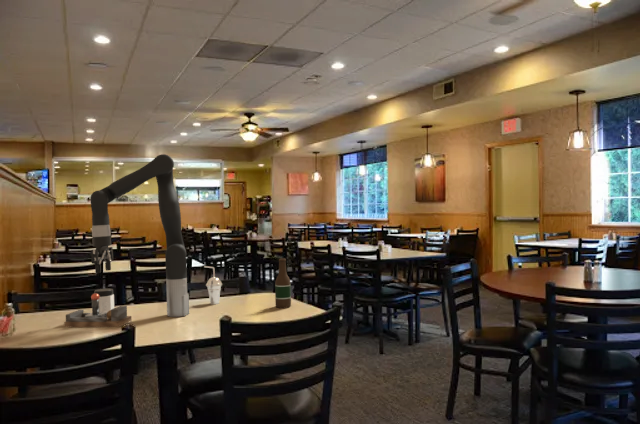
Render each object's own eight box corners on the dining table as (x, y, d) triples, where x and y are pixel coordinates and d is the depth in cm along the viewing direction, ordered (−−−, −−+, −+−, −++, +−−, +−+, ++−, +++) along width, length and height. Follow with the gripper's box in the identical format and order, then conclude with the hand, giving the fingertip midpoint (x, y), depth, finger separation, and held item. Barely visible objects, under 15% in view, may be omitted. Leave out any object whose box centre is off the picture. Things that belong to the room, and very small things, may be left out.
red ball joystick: (108, 316, 217) (108, 292, 217) (100, 320, 210) (99, 294, 210) (93, 316, 217) (93, 292, 217) (84, 320, 211) (84, 294, 210)
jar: (95, 317, 225) (94, 292, 225) (92, 314, 232) (92, 289, 232) (116, 315, 230) (115, 289, 230) (112, 312, 237) (112, 287, 237)
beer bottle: (294, 305, 243) (293, 258, 243) (285, 308, 237) (283, 259, 237) (281, 304, 248) (280, 257, 247) (272, 307, 241) (271, 259, 241)
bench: (131, 320, 218) (131, 304, 218) (117, 327, 206) (117, 310, 206) (80, 320, 221) (80, 305, 221) (64, 326, 209) (64, 310, 209)
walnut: (118, 318, 215) (118, 309, 215) (113, 320, 211) (113, 310, 211) (109, 318, 215) (109, 309, 215) (104, 320, 211) (104, 310, 211)
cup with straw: (220, 305, 249) (220, 266, 249) (203, 305, 250) (202, 266, 249) (224, 301, 258) (223, 264, 258) (207, 302, 258) (206, 264, 258)
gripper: (101, 236, 209) (103, 273, 209) (117, 234, 223) (119, 269, 224) (84, 236, 210) (86, 274, 210) (101, 234, 224) (103, 269, 224)
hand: (103, 271), depth 217 cm, fingers open, 8 cm apart
